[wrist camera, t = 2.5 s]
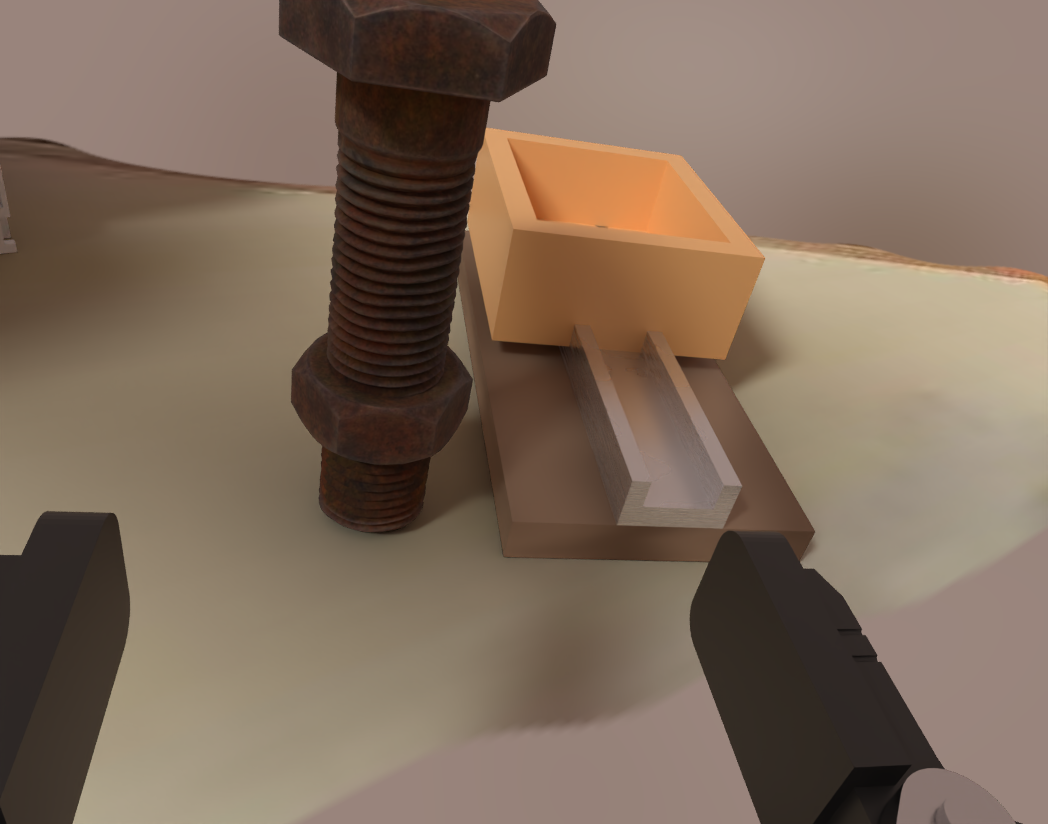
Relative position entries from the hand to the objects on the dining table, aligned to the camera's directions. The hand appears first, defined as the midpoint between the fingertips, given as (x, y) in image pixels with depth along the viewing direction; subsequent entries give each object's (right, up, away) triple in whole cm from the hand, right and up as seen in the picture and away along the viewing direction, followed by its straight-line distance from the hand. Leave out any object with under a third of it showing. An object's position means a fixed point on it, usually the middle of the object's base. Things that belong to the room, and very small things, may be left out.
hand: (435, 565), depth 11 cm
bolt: (-4, -1, +15) cm, 15 cm away
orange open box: (+4, +8, +25) cm, 26 cm away
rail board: (+4, +3, +23) cm, 23 cm away
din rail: (+4, +5, +22) cm, 23 cm away
